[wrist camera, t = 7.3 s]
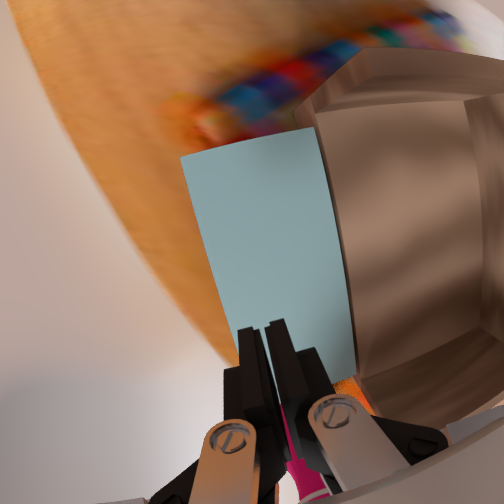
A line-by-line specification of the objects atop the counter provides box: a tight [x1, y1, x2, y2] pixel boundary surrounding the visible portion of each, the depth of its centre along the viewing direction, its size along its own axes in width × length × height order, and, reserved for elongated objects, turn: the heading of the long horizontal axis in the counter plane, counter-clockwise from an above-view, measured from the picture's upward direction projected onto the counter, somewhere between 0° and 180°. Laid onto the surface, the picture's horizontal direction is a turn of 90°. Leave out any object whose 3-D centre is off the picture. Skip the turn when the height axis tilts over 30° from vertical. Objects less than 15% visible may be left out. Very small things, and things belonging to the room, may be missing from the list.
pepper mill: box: [280, 404, 330, 504], centre depth 18 cm, size 7×7×20 cm
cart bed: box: [293, 47, 504, 430], centre depth 18 cm, size 22×14×13 cm, turn 14°
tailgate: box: [180, 127, 356, 404], centre depth 20 cm, size 18×2×8 cm
